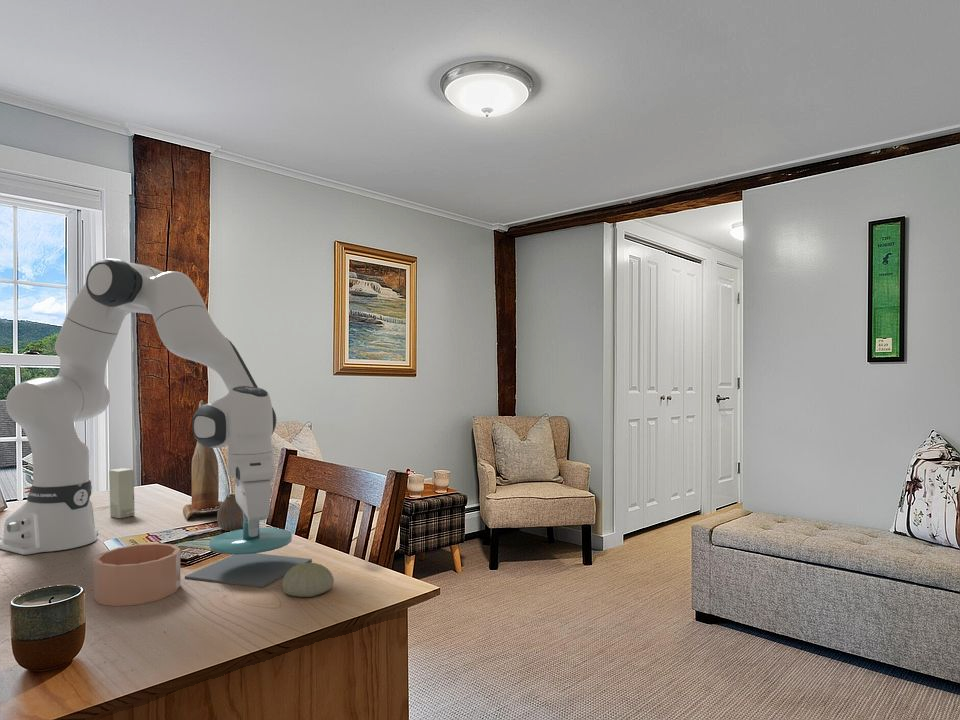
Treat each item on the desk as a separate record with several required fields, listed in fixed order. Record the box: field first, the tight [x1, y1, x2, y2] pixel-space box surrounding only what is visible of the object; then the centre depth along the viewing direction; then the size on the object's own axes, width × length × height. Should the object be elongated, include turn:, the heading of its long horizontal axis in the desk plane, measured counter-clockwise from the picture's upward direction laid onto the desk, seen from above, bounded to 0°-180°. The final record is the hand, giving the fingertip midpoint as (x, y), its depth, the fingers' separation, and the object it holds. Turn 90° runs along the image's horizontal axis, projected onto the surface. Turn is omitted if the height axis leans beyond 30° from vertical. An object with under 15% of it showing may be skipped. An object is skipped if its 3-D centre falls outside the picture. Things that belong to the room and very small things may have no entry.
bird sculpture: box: [182, 399, 223, 521], centre depth 181 cm, size 11×12×32 cm
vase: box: [216, 493, 244, 532], centre depth 165 cm, size 7×7×9 cm
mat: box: [184, 553, 312, 589], centre depth 134 cm, size 18×17×1 cm
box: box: [108, 467, 136, 519], centre depth 179 cm, size 5×4×13 cm
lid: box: [208, 520, 293, 555], centre depth 134 cm, size 16×16×4 cm
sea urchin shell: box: [281, 562, 335, 598], centre depth 122 cm, size 9×8×8 cm
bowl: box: [93, 542, 181, 607], centre depth 122 cm, size 14×14×7 cm
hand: (251, 533), depth 134 cm, fingers closed on lid, 3 cm apart
